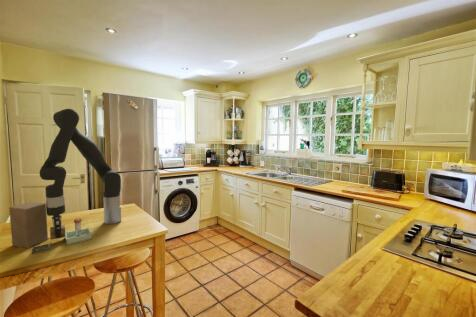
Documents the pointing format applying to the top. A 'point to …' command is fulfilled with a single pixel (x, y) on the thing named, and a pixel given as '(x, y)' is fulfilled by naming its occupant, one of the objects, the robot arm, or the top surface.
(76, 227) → the pin
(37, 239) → the wooden block
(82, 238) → the tray
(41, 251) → the pin socket
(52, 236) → the block
